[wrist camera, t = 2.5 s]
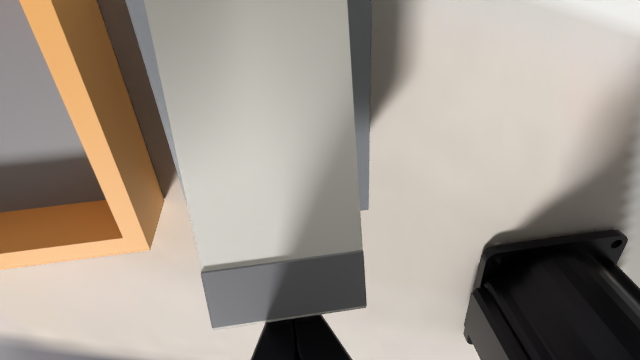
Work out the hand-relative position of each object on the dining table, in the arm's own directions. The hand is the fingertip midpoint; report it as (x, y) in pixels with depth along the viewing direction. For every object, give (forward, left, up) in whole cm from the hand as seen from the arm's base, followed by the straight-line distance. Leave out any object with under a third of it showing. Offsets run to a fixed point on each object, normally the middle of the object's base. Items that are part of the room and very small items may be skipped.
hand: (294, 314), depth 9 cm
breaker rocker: (0, -3, -1) cm, 4 cm away
